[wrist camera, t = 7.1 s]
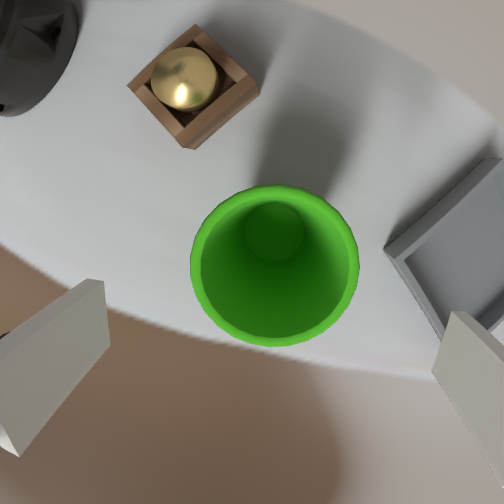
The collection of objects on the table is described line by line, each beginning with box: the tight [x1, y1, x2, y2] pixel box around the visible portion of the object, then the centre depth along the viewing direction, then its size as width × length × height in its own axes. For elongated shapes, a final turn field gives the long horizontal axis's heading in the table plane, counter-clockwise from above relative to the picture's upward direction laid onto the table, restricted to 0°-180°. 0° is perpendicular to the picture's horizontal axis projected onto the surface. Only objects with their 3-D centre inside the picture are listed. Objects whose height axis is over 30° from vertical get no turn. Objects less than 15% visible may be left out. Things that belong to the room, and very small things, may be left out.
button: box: [151, 47, 221, 113], centre depth 20 cm, size 4×4×3 cm
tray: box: [383, 158, 504, 342], centre depth 25 cm, size 14×14×3 cm
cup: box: [190, 184, 360, 347], centre depth 22 cm, size 9×9×11 cm
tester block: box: [127, 24, 259, 150], centre depth 23 cm, size 7×7×4 cm
